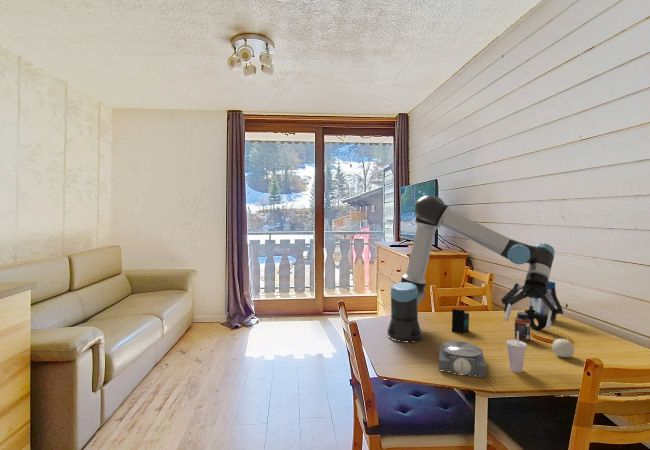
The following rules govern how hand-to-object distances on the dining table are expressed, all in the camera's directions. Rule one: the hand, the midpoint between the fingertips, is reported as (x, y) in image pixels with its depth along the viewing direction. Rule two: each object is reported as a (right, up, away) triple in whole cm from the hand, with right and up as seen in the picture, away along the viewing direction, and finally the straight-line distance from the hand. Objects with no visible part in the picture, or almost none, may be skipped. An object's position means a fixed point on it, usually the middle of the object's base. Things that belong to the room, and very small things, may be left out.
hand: (526, 324), depth 122 cm
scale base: (-24, -15, -1) cm, 29 cm away
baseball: (+17, -14, +5) cm, 23 cm away
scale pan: (-25, -9, -1) cm, 26 cm away
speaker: (-10, -13, +34) cm, 38 cm away
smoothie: (-7, -15, -6) cm, 17 cm away
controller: (+26, -13, +34) cm, 44 cm away
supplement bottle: (+12, -13, +23) cm, 29 cm away
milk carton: (+38, -12, +48) cm, 62 cm away
